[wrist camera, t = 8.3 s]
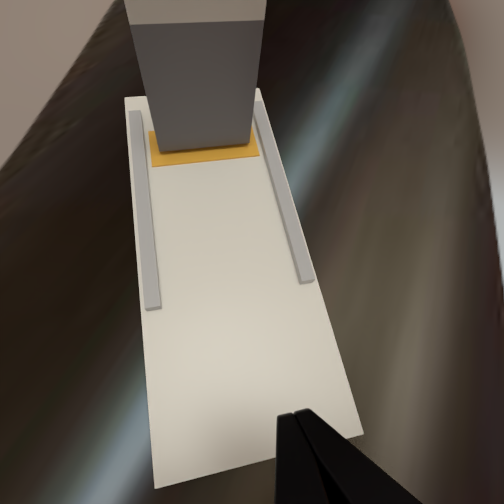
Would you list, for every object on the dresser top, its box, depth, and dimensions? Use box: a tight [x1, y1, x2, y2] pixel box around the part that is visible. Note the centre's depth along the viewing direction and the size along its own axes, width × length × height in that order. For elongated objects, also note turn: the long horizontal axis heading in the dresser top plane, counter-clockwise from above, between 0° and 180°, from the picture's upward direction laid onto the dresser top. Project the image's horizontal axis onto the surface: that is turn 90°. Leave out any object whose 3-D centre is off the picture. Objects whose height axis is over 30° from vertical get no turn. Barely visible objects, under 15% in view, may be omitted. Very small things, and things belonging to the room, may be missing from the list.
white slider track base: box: [125, 88, 364, 489], centre depth 21 cm, size 24×10×3 cm, turn 12°
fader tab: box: [124, 0, 266, 152], centre depth 18 cm, size 2×6×9 cm, turn 101°
